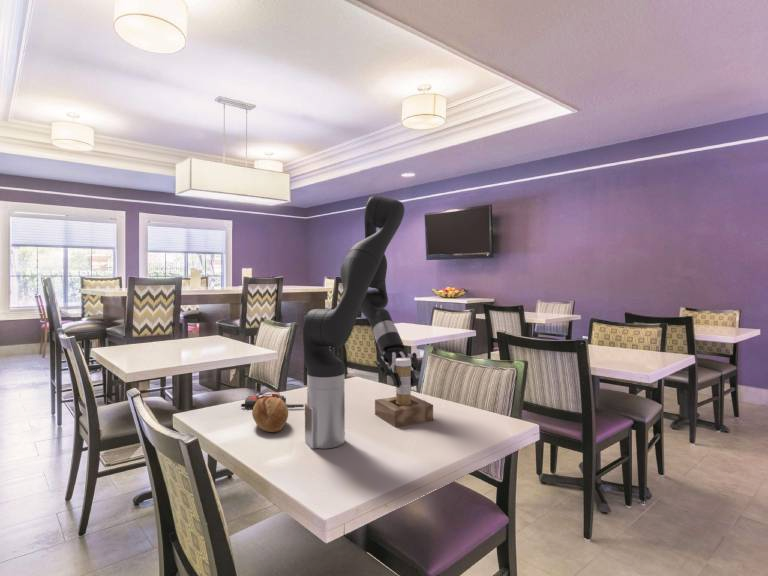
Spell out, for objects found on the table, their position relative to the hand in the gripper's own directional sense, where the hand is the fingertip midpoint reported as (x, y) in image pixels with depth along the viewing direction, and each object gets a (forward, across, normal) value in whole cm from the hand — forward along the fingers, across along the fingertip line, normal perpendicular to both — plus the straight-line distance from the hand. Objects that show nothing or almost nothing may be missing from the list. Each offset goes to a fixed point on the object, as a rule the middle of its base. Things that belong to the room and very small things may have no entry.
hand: (406, 384), depth 129 cm
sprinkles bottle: (+3, 0, +6) cm, 7 cm away
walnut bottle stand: (+6, 0, +8) cm, 10 cm away
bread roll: (-1, -37, +15) cm, 40 cm away
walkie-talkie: (-14, -32, +29) cm, 45 cm away
